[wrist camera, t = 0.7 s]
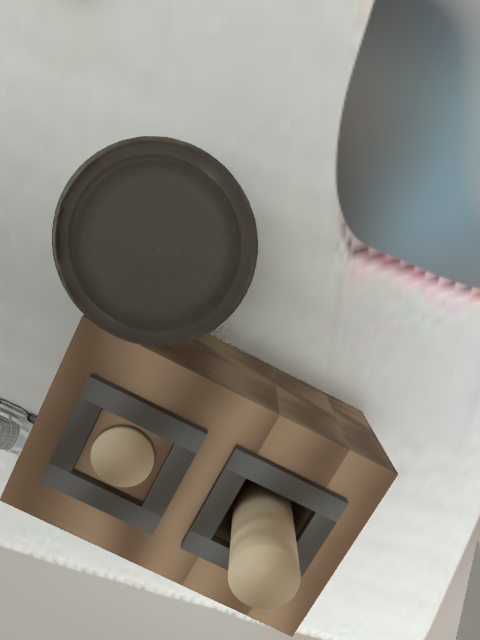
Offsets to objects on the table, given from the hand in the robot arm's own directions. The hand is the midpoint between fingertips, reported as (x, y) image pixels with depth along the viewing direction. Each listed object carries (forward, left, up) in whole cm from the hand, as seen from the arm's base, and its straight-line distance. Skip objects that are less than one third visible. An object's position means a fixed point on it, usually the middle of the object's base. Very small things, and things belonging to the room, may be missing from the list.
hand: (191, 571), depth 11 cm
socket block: (+2, -9, -28) cm, 29 cm away
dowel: (+7, -9, -22) cm, 24 cm away
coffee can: (-6, +4, -28) cm, 29 cm away
